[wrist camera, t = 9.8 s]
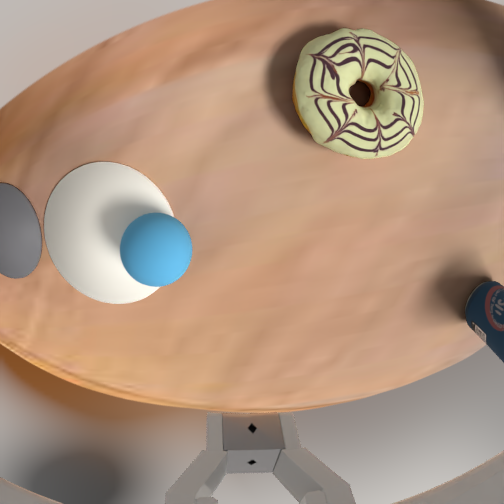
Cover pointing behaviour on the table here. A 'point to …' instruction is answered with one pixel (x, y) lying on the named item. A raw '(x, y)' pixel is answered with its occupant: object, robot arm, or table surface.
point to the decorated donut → (344, 107)
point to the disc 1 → (18, 233)
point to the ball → (156, 249)
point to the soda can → (487, 315)
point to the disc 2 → (99, 228)
